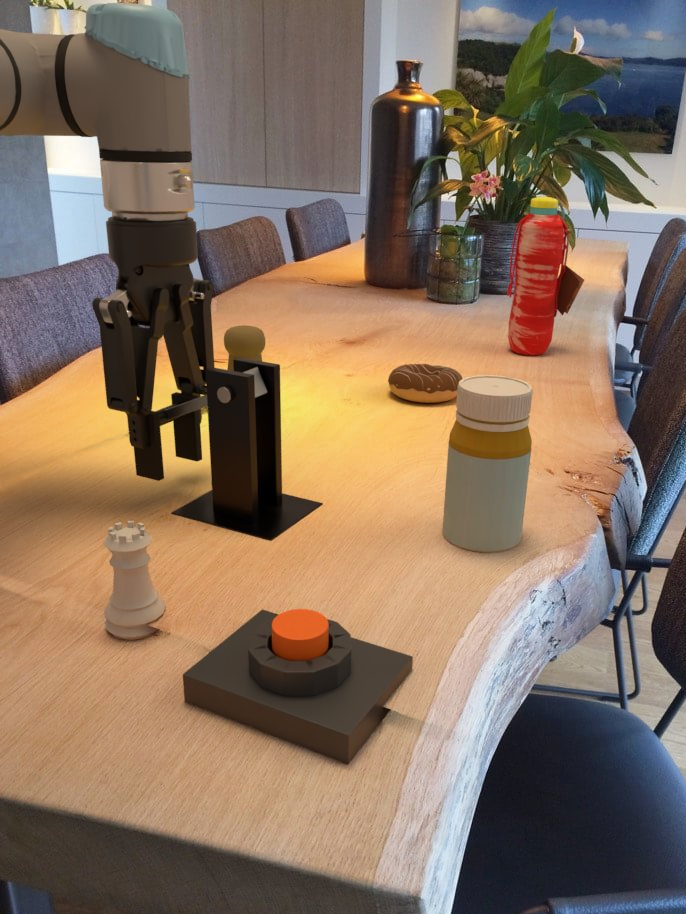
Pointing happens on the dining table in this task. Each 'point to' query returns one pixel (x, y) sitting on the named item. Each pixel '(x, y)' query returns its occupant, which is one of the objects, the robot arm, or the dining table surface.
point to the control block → (299, 687)
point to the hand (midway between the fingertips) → (170, 466)
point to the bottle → (488, 464)
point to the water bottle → (540, 278)
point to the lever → (203, 401)
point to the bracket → (246, 456)
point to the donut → (424, 382)
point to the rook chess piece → (131, 584)
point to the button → (300, 635)
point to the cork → (244, 343)
